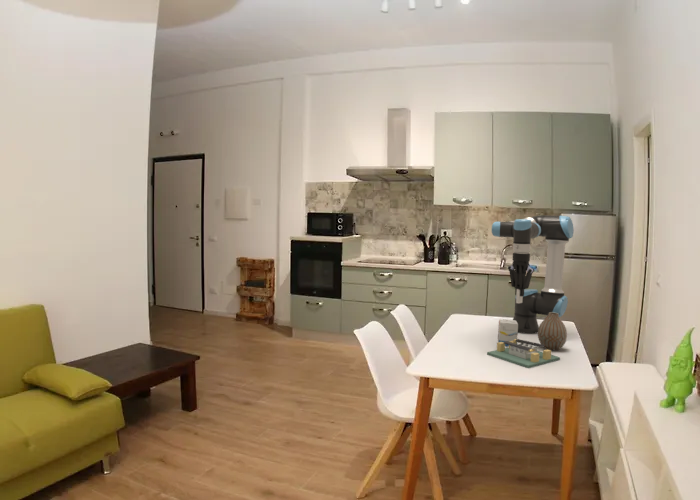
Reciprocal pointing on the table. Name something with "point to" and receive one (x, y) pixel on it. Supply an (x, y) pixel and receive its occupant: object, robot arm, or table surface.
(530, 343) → the strap
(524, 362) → the board
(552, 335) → the vase
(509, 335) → the ink box
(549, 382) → the table surface
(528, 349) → the strap
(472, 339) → the table surface
